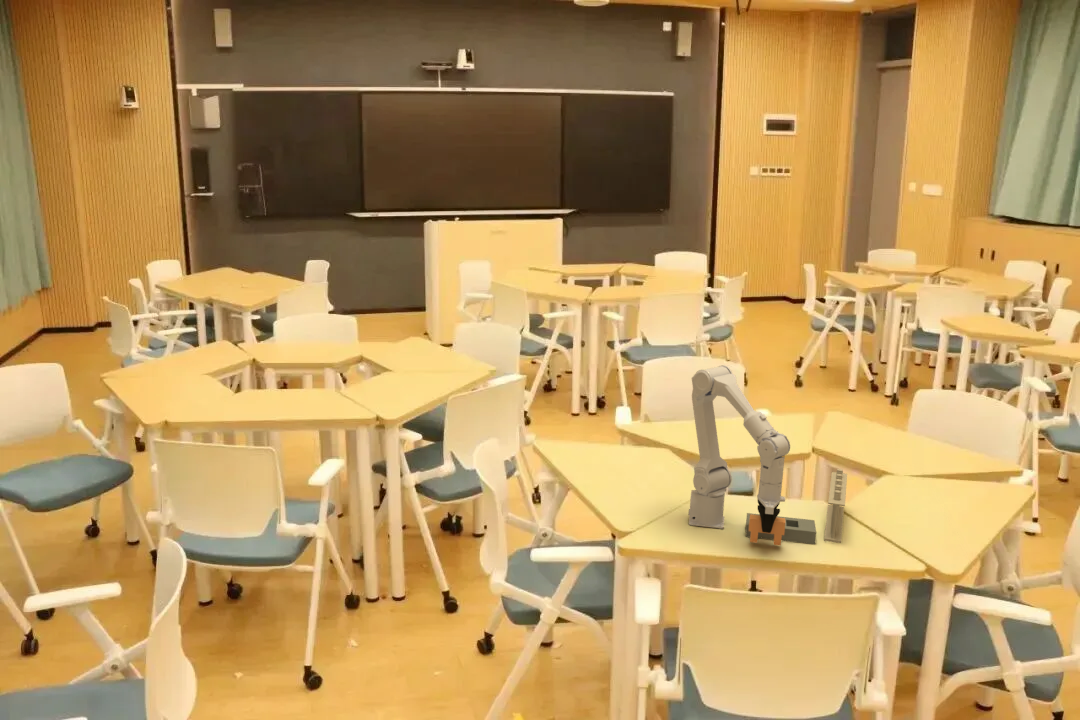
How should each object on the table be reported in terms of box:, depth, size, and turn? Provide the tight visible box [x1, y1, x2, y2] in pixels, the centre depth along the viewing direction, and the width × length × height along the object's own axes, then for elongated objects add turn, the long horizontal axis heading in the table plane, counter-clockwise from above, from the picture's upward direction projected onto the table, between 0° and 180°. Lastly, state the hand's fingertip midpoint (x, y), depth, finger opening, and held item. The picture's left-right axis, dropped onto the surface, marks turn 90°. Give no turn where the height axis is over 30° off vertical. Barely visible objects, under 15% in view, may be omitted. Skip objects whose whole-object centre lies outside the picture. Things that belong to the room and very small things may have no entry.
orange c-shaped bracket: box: [749, 513, 785, 546], centre depth 239 cm, size 9×3×6 cm, turn 77°
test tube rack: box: [823, 468, 848, 544], centre depth 254 cm, size 25×4×13 cm, turn 161°
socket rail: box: [745, 512, 817, 545], centre depth 247 cm, size 18×8×4 cm, turn 77°
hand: (766, 529), depth 239 cm, fingers closed on orange c-shaped bracket, 3 cm apart
